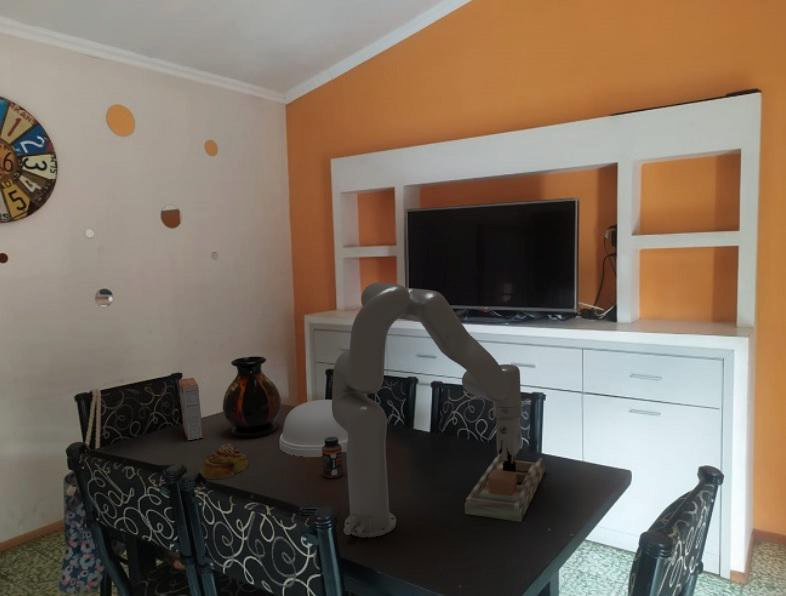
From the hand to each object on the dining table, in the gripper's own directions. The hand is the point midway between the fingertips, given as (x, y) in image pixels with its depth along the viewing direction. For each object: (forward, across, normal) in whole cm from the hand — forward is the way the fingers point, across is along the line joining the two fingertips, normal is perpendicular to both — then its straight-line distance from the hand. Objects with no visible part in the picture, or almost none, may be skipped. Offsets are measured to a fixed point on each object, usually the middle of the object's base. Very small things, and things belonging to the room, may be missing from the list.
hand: (509, 475), depth 161 cm
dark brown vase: (+4, +22, +103) cm, 105 cm away
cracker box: (+4, +12, +124) cm, 124 cm away
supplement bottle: (+4, -7, +52) cm, 53 cm away
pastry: (+4, -13, +88) cm, 89 cm away
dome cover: (+4, +19, +71) cm, 74 cm away
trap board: (+3, -3, 0) cm, 4 cm away
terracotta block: (+1, -8, 0) cm, 8 cm away
